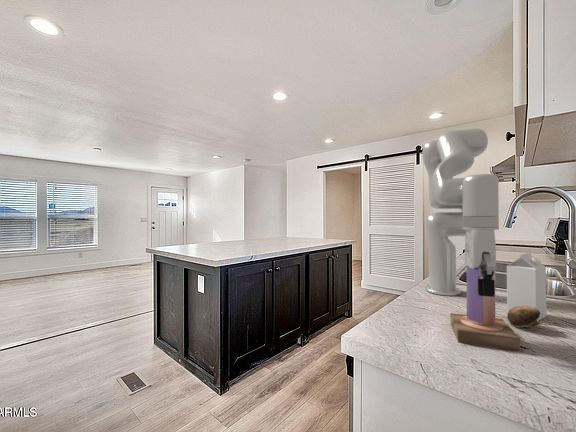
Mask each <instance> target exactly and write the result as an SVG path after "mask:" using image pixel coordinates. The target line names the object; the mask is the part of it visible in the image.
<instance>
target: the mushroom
mask: <svg viewBox="0 0 576 432" xmlns="http://www.w3.org/2000/svg"><path fill="white" fill-rule="evenodd" d="M539 316H540V312H539V310H538V309H536V308H534V307H529V306H516V307H513V308H512V309H510V310H509V312H508V314H507V321H508V322H509V324H510V325H511V326H513V327H515V328H524V327H528V328H529V329H531V328H534V327H537V326H539V325H541V324H542V322H540V321H537V319H538V318H539Z"/></svg>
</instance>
